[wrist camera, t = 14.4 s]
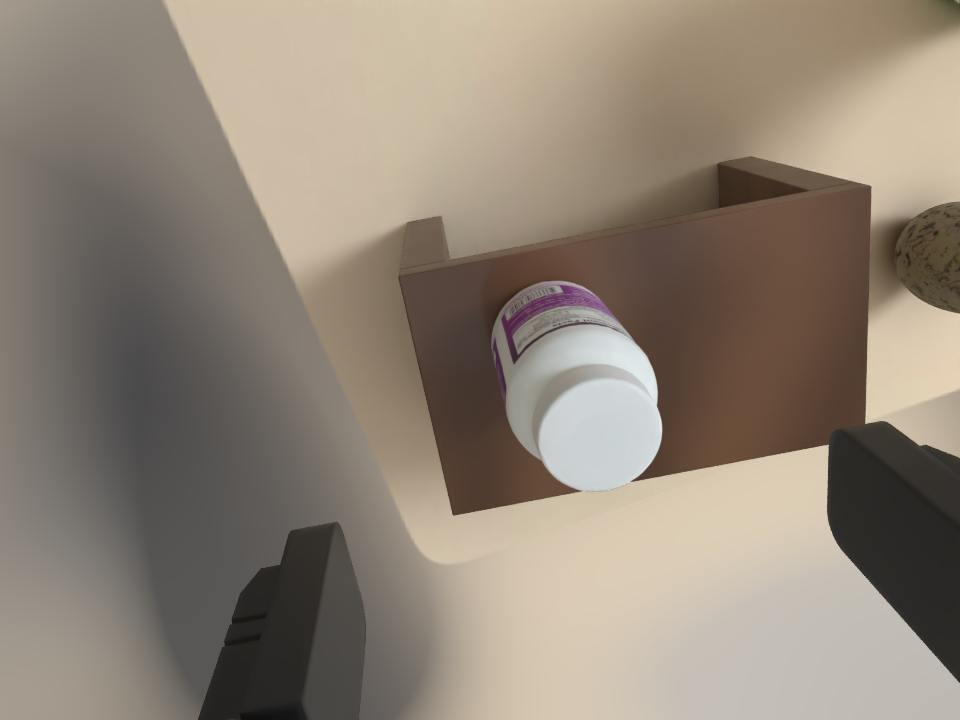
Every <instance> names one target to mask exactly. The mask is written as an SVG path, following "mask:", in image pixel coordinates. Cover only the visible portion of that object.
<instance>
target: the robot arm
mask: <svg viewBox="0 0 960 720" xmlns="http://www.w3.org/2000/svg"><path fill="white" fill-rule="evenodd" d="M828 457H829V458H828V495H827V514H828V521H829V525H830V528H831V531H832V534H833V536H834V538H835V540H836V542H837V544H838V545H839V547H840V548H841V550H842V551H843V552H844V553H845V554H846V555H847V556H848V558H849V559H850V560H851V561H852V562H853V563H854V564H855V566H856V567H857V568H858V569H859V570H860V571H861V572H862V573H863V575H864V576H866V578H867V579H868V580H869V581H870V582H871V584H872V585H873V586H874V587H875V588H876V589H877V590H878V591H879V593H880V594H881V595H882V596H883V597H884V598H885V599H886V600H887V602H888V603H889V604H890V605H891V606H892V607H893V608H894V609H895V611H896V612H898V614H899V615H900V616H901V617H902V618H903V619H904V621H905V622H906V623H907V624H908V625H909V626H910V627H911V629H912V630H913V631H914V632H915V633H916V634H917V635H918V636H919V638H920V639H921V640H922V641H923V642H924V643H925V644H926V645H927V647H928V648H929V649H930V650H931V651H932V652H933V653H934V654H935V656H937V658H938V659H939V660H940V661H941V662H942V663H943V665H944V666H946V668H947V669H948V670H949V671H950V673H952V675H953V676H954V677H955V678H956V679H957V680H958V682H959V683H960V458H958V457H956V456H953V455H951V454H948V453H946V452H943V451H941V450H938V449H935V448H932V447H930V446H928V445H923V446H919V445H918V444H916V443H915V442H914V441H912V440H911V439H909V438H908V437H907V436H906V435H904V434H903V433H902V432H900V431H899V430H897V429H896V428H895V427H893V426H892V425H891V424H889V423H888V422H885V421H879V422H874V423H868V424H863V425H858V426H852V427H847V428H842V429H837V430H835V431H833V432H832V434H831V436H830V440H829V456H828ZM224 642H225V647H222V650H221V653H220V656H219V658H218V662H217V664H216V668H215V670H214V673H213V676H212V679H211V682H210V685H209V689H208V691H207V694H206V697H205V700H204V703H203V706H202V709H201V712H200V715H199V718H198V720H359V712H360V700H361V689H362V677H363V667H364V654H365V644H366V621H365V613H364V606H363V601H362V597H361V593H360V590H359V586H358V583H357V579H356V576H355V573H354V569H353V565H352V562H351V558H350V555H349V552H348V548H347V545H346V541H345V538H344V534H343V531H342V529H341V526H340V525H339V523H338V522H334V523H328V524H324V525H318V526H313V527H307V528H302V529H296V530H292V531H290V533H289V535H288V539H287V542H286V546H285V550H284V553H283V557H282V560H281V564H280V565H277V566H272V567H266V568H261V569H260V571H259V572H258V573H257V574H256V575H255V577H254V578H253V579H252V580H251V581H250V582H249V584H248V585H247V586H246V587H245V589H244V590H243V591H242V592H241V593H240V596H239V599H238V602H237V605H236V608H235V611H234V614H233V617H232V625H230V626H229V629H228V632H227V635H226V638H225V641H224Z"/></svg>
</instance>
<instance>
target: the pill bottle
mask: <svg viewBox="0 0 960 720" xmlns="http://www.w3.org/2000/svg"><path fill="white" fill-rule="evenodd" d="M491 347H492V354H493V359H494V364H495V368H496V372H497V376H498V380H499V384H500V388H501V392H502V397H503V401H504V405H505V409H506V415H507V418H508V421H509V424H510V426H511V429H512V431H513V433H514V434H515V436H516V437H517V439H518V440H519V442H520V443H521V444H522V445H523V446H524V447H525V448H526V450H527V451H529V452H530V453H531V454H532V455H534V456H535V457H536V458H538V459H540V460H541V461H542V462H543V464H544V466H545V467H546V468H547V470H548V471H549V472H550V473H551V475H553V476H554V477H555V478H556V479H557V480H558V481H560V482H561V483H563V484H565V485H567V486H569V487H571V488H574V489H577V490H581V491H588V492H600V491H607V490H612V489H615V488H618V487H620V486H623V485H625V484H627V483H629V482H631V481H632V480H634V479H635V478H637V477H638V476H639V475H640V474H642V473H643V472H644V471H645V469H646V468H647V467H648V466H649V465H650V464H651V462H652V461H653V459H654V457H655V456H656V454H657V452H658V449H659V446H660V443H661V438H662V421H661V417H660V414H659V411H658V408H657V397H658V390H657V382H656V377H655V374H654V371H653V368H652V366H651V364H650V362H649V360H648V357H647V356H646V354H645V353H644V351H643V350H642V349H641V348H640V347H639V345H638V344H636V342H635V341H634V340H633V338H632V337H631V336H630V335H629V334H628V332H627V331H626V330H625V328H624V327H623V326H622V325H621V323H620V322H619V321H618V320H617V318H616V317H615V316H614V315H613V314H612V312H611V311H610V310H609V309H608V308H607V307H606V306H605V304H604V303H603V302H602V301H601V300H600V299H599V298H598V297H597V296H596V295H595V294H593V293H592V292H591V291H589V290H588V289H586V288H584V287H582V286H580V285H577V284H574V283H571V282H565V281H548V282H547V281H545V282H540V283H537V284H534V285H532V286H529V287H527V288H525V289H523V290H522V291H520V292H519V293H518V294H516V295H515V296H514V297H513V298H512V299H511V300H510V301H508V302H507V303H506V305H505V306H504V307H503V309H502V310H501V311H500V313H499V315H498V317H497V319H496V321H495V324H494V327H493V332H492V339H491Z"/></svg>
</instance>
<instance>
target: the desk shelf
mask: <svg viewBox="0 0 960 720" xmlns="http://www.w3.org/2000/svg"><path fill="white" fill-rule="evenodd" d="M718 178H719V197H720V208H718V209H713V210H708V211H703V212H697V213H692V214H687V215H682V216H677V217H671V218H666V219H661V220H656V221H650V222H645V223H640V224H635V225H630V226H624V227H619V228H614V229H609V230H604V231H598V232H593V233H588V234H583V235H577V236H572V237H567V238H562V239H557V240H551V241H546V242H541V243H536V244H530V245H525V246H520V247H515V248H510V249H504V250H499V251H494V252H489V253H483V254H478V255H473V256H468V257H463V258H457V259H452V260H450V257H449V252H448V247H447V242H446V237H445V232H444V227H443V222H442V217H441V216H438V217H433V218H427V219H422V220H417V221H412V222H407V227H406V233H405V239H404V245H403V252H402V258H401V264H400V271H399V282H400V286H401V290H402V295H403V299H404V304H405V308H406V312H407V317H408V321H409V325H410V330H411V334H412V339H413V343H414V347H415V352H416V356H417V360H418V365H419V369H420V374H421V378H422V382H423V387H424V391H425V395H426V400H427V404H428V409H429V413H430V417H431V422H432V426H433V430H434V435H435V439H436V444H437V448H438V452H439V457H440V461H441V465H442V470H443V474H444V479H445V483H446V487H447V492H448V496H449V500H450V505H451V509H452V514H453V515H459V514H465V513H470V512H475V511H480V510H486V509H491V508H496V507H501V506H507V505H512V504H517V503H523V502H528V501H533V500H538V499H544V498H549V497H554V496H560V495H565V494H570V493H575V492H581V490H577V489H574V488H571V487H569V486H567V485H565V484H563V483H561V482H560V481H558V480H557V479H556V478H555V477H554V476H553V475H551V473H550V472H549V471H548V470H547V468H546V467H545V466H544V464H543V462H542V461H541V460H540V459H538V458H536V457H535V456H534V455H532V454H531V453H530V452H529V451H527V450H526V448H525V447H524V446H523V445H522V444H521V443H520V442H519V440H518V439H517V437H516V436H515V434H514V433H513V431H512V429H511V426H510V424H509V421H508V418H507V415H506V409H505V405H504V401H503V397H502V392H501V388H500V384H499V380H498V376H497V372H496V368H495V364H494V359H493V354H492V347H491V339H492V332H493V327H494V324H495V321H496V319H497V317H498V315H499V313H500V311H501V310H502V309H503V307H504V306H505V305H506V303H507V302H508V301H510V300H511V299H512V298H513V297H514V296H515V295H516V294H518V293H519V292H520V291H522V290H523V289H525V288H527V287H529V286H532V285H534V284H537V283H540V282H545V281H547V282H548V281H565V282H571V283H574V284H577V285H580V286H582V287H584V288H586V289H588V290H589V291H591V292H592V293H593V294H595V295H596V296H597V297H598V298H599V299H600V300H601V301H602V302H603V303H604V304H605V306H606V307H607V308H608V309H609V310H610V311H611V312H612V314H613V315H614V316H615V317H616V318H617V320H618V321H619V322H620V323H621V325H622V326H623V327H624V328H625V330H626V331H627V332H628V334H629V335H630V336H631V337H632V338H633V340H634V341H635V342H636V344H638V345H639V347H640V348H641V349H642V350H643V351H644V353H645V354H646V356H647V357H648V360H649V362H650V364H651V366H652V368H653V371H654V374H655V377H656V382H657V390H658V397H657V408H658V411H659V414H660V417H661V421H662V438H661V443H660V446H659V449H658V452H657V454H656V456H655V457H654V459H653V461H652V462H651V464H650V465H649V466H648V467H647V468H646V469H645V471H644V472H643V473H642V474H640V475H639V476H638V477H637V478H635V479H634V480H632V481H631V482H633V481H639V480H644V479H649V478H654V477H660V476H665V475H670V474H676V473H681V472H686V471H691V470H697V469H702V468H707V467H713V466H718V465H723V464H728V463H734V462H739V461H744V460H749V459H755V458H760V457H765V456H770V455H776V454H781V453H786V452H792V451H797V450H802V449H807V448H813V447H818V446H823V445H829V440H830V436H831V434H832V432H833V431H835V430H837V429H842V428H847V427H852V426H858V425H863V424H865V413H866V374H867V336H868V297H869V258H870V219H871V186H869V185H865V184H861V183H857V182H852V181H848V180H844V179H840V178H836V177H832V176H828V175H824V174H820V173H816V172H812V171H808V170H804V169H800V168H796V167H792V166H788V165H784V164H780V163H776V162H772V161H768V160H764V159H759V158H755V157H745V158H740V159H735V160H730V161H725V162H719V163H718Z"/></svg>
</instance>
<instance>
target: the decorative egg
mask: <svg viewBox="0 0 960 720" xmlns="http://www.w3.org/2000/svg"><path fill="white" fill-rule="evenodd" d="M894 261H895V267H896V270H897V273H898V276H899V278H900V279H901V281H902V282H903V284H904V285H905V286H906V288H907V289H908V290H909V291H910V292H911V293H912V294H914V295H915V296H916V297H918V298H919V299H921V300H922V301H924V302H926V303H928V304H930V305H932V306H935V307H937V308H940V309H943V310H947V311H951V312H955V313H960V202H952V203H946V204H942V205H938V206H935V207H933V208H931V209H928V210H926V211H924V212H923V213H921V214H919V215H918V216H917V217H915V218H914V219H913V220H912V221H911V222H910V223H909V224H908V225H907V226H906V227H905V228H904V230H903V231H902V233H901V234H900V236H899V238H898V240H897V243H896V247H895V253H894Z"/></svg>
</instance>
